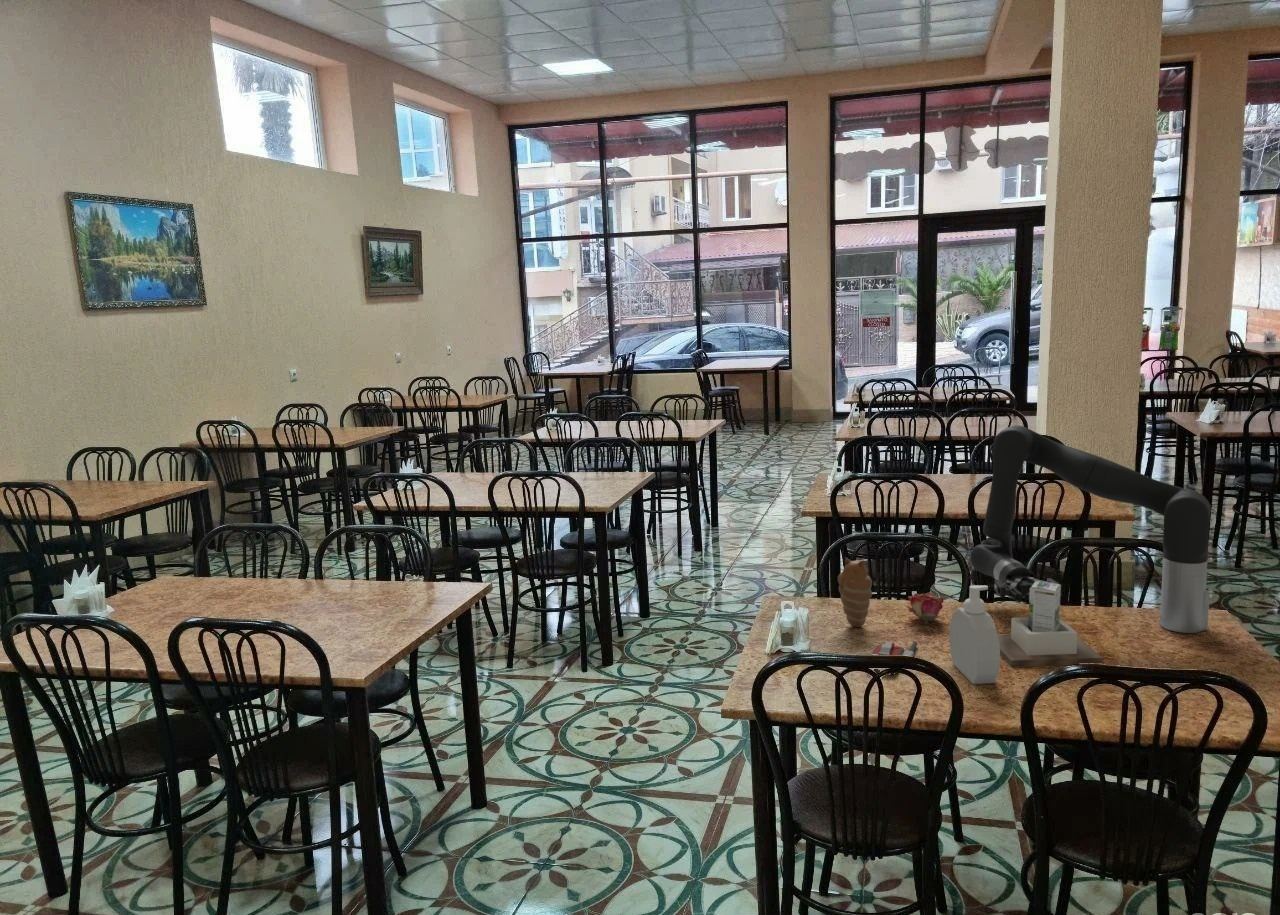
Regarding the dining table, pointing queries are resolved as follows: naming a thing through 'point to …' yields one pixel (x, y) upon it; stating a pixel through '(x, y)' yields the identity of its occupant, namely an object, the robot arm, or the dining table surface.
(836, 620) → the dining table surface
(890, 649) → the walkie-talkie
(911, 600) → the flower
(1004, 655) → the walnut stand
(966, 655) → the soap bottle
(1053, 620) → the syrup box
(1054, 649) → the white open square box
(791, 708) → the dining table surface
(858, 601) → the cat ice cream
